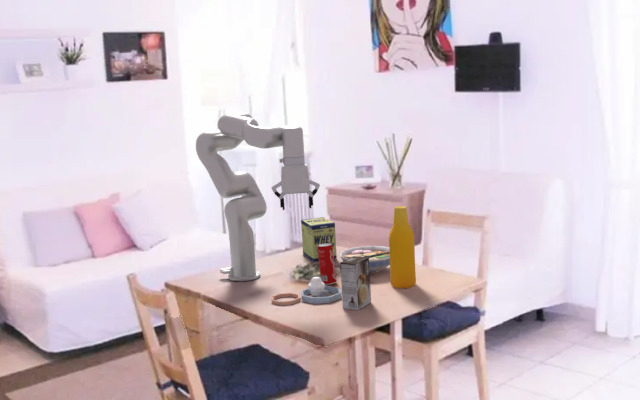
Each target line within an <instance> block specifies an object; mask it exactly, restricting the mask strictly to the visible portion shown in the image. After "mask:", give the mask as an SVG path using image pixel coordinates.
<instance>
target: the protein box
mask: <svg viewBox="0 0 640 400" xmlns="http://www.w3.org/2000/svg"><path fill="white" fill-rule="evenodd" d="M300 224H301V239H302V240H301V243H302V254H303V256H305V257H307V259H309V260H311V261H312V262H313V263H316V262H319V258H318V245H319V244H323V243H331V244H332V247H333V254H334V260H337V259H338V258H337V238H336V236H337V235H336V223H335V221H332V220H330V219H328V218H327V217H324V216H321V217H313V218H305V219H304V218H303V219H300Z"/></svg>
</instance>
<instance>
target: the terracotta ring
mask: <svg viewBox="0 0 640 400" xmlns="http://www.w3.org/2000/svg"><path fill="white" fill-rule="evenodd" d="M286 297H287V298H289V297H291V298H294V299H291V300H277V299H280V298H286ZM270 298H271V299H270V300H271V301H270V302H271V304H273V305H277V306H289V305H290V306H292V305H294V304H297V303H299V302H301V293H294V292H283V293H277V294H275V295H271V297H270Z"/></svg>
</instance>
